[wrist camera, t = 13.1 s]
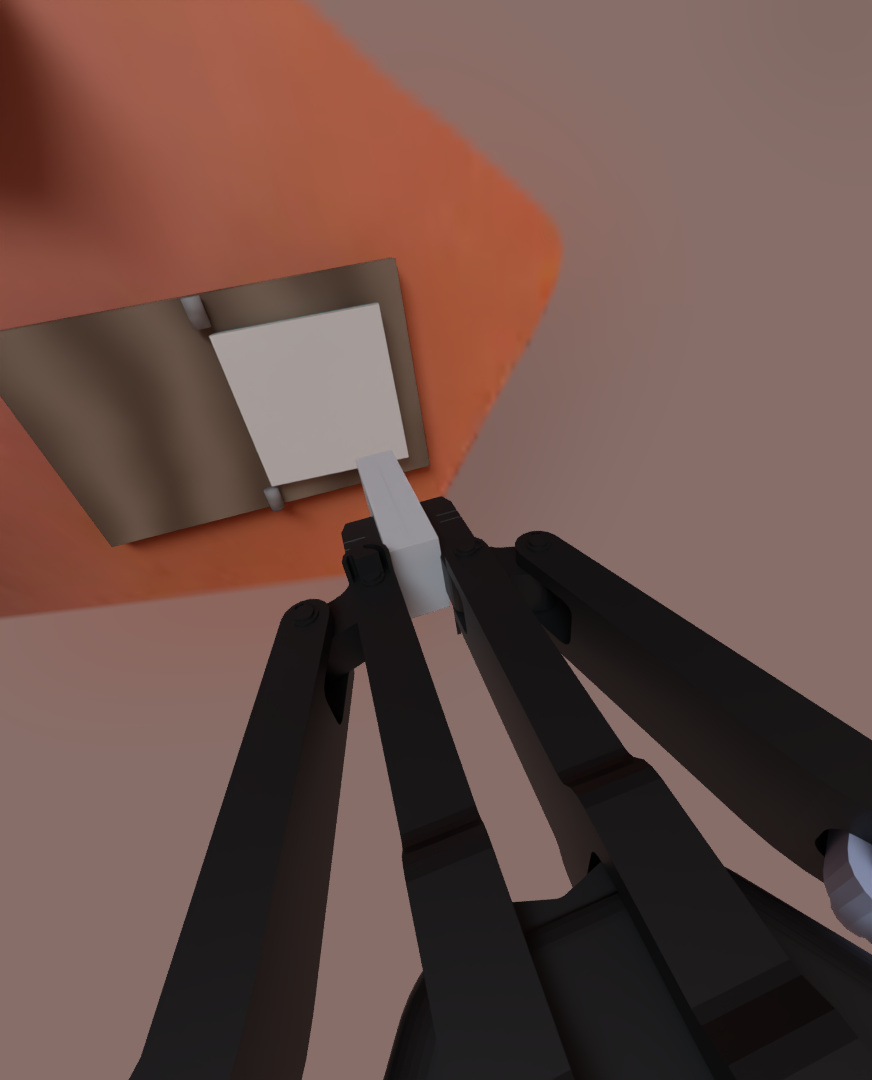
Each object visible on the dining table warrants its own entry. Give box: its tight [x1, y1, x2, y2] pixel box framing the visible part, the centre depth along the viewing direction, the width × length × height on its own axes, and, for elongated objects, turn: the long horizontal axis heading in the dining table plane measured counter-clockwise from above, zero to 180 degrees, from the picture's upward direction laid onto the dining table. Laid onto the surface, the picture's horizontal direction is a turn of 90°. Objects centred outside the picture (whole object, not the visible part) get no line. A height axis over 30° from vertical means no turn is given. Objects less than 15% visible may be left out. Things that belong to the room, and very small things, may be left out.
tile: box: [209, 302, 409, 486], centre depth 29 cm, size 10×10×1 cm
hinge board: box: [0, 258, 430, 547], centre depth 29 cm, size 24×14×2 cm, turn 99°
